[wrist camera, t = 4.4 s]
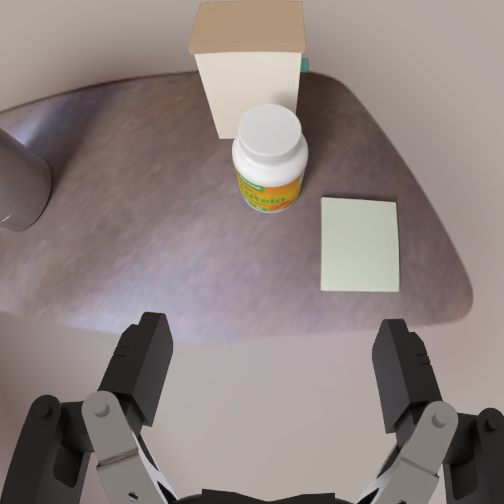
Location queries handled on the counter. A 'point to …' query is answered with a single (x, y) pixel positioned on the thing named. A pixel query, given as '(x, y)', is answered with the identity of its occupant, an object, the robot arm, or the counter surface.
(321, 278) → the plate
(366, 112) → the counter surface
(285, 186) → the supplement bottle
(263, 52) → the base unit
